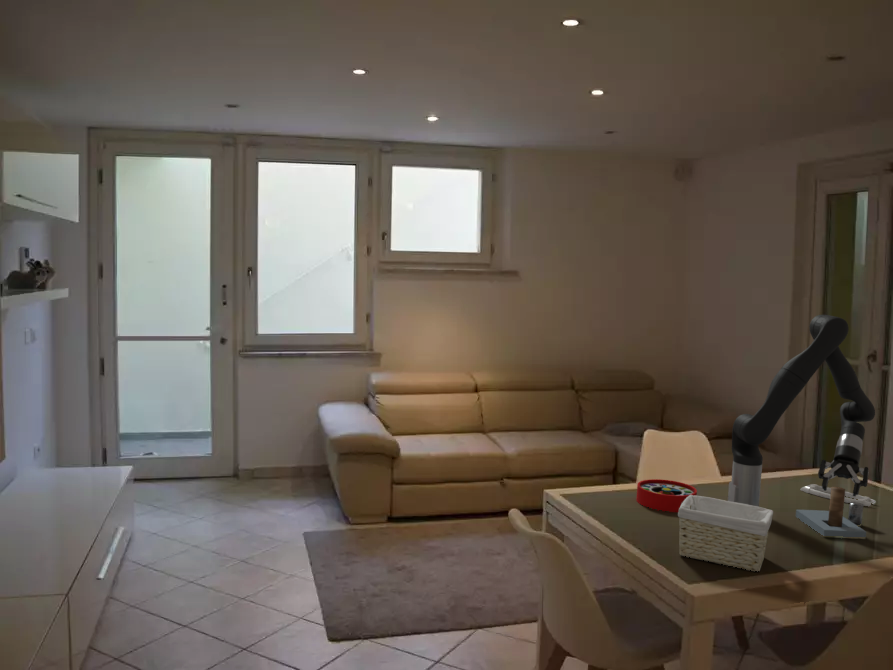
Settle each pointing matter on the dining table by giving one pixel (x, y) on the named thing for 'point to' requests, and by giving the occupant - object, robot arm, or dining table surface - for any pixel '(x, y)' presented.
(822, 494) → the door handle
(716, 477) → the dining table surface
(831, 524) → the long pin
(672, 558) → the dining table surface
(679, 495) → the toy clock
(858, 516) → the short pin
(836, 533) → the hole board
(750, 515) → the storage basket
